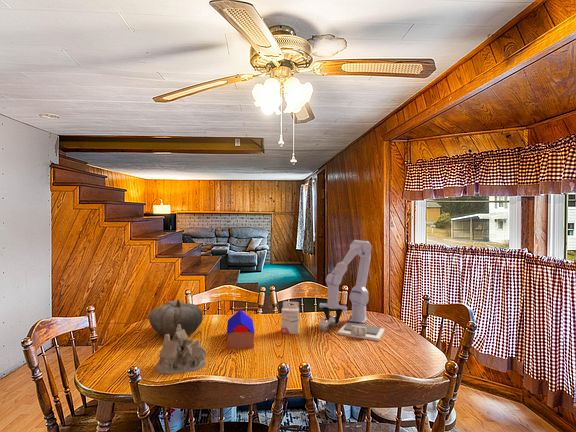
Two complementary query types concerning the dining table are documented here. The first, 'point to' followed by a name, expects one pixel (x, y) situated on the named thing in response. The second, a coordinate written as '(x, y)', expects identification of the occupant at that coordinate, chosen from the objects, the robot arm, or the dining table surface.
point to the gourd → (175, 318)
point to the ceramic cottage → (180, 354)
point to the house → (240, 331)
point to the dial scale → (362, 331)
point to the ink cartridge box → (290, 318)
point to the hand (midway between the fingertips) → (332, 322)
